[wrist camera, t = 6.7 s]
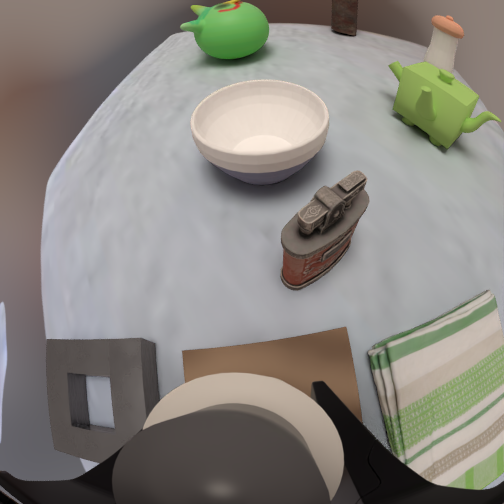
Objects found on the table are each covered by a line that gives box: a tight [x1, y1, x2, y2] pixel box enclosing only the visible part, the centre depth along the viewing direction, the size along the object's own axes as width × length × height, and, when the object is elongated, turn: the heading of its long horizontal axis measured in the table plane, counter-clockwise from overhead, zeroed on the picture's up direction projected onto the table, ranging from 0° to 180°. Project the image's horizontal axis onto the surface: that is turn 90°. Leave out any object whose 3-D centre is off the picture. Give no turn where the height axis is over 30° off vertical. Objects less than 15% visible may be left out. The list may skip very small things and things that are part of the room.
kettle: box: [389, 61, 501, 149], centre depth 29 cm, size 15×14×11 cm
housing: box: [46, 338, 160, 463], centre depth 19 cm, size 12×12×3 cm
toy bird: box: [180, 0, 269, 59], centre depth 42 cm, size 18×17×15 cm
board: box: [182, 327, 363, 423], centre depth 19 cm, size 14×14×1 cm
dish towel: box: [368, 290, 504, 490], centre depth 15 cm, size 17×23×4 cm
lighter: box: [281, 171, 369, 290], centre depth 21 cm, size 8×3×10 cm, turn 128°
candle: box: [331, 0, 358, 36], centre depth 46 cm, size 8×7×20 cm
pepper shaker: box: [423, 16, 464, 74], centre depth 31 cm, size 7×7×19 cm
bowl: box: [190, 80, 329, 185], centre depth 28 cm, size 14×14×8 cm
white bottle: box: [112, 372, 344, 504], centre depth 8 cm, size 4×4×14 cm
